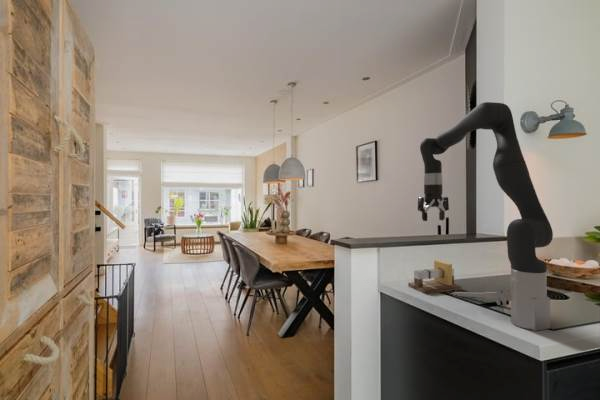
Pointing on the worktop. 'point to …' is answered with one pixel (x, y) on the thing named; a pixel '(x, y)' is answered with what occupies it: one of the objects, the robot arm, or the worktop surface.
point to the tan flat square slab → (447, 272)
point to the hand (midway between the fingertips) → (433, 220)
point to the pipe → (430, 273)
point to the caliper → (485, 295)
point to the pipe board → (433, 286)
